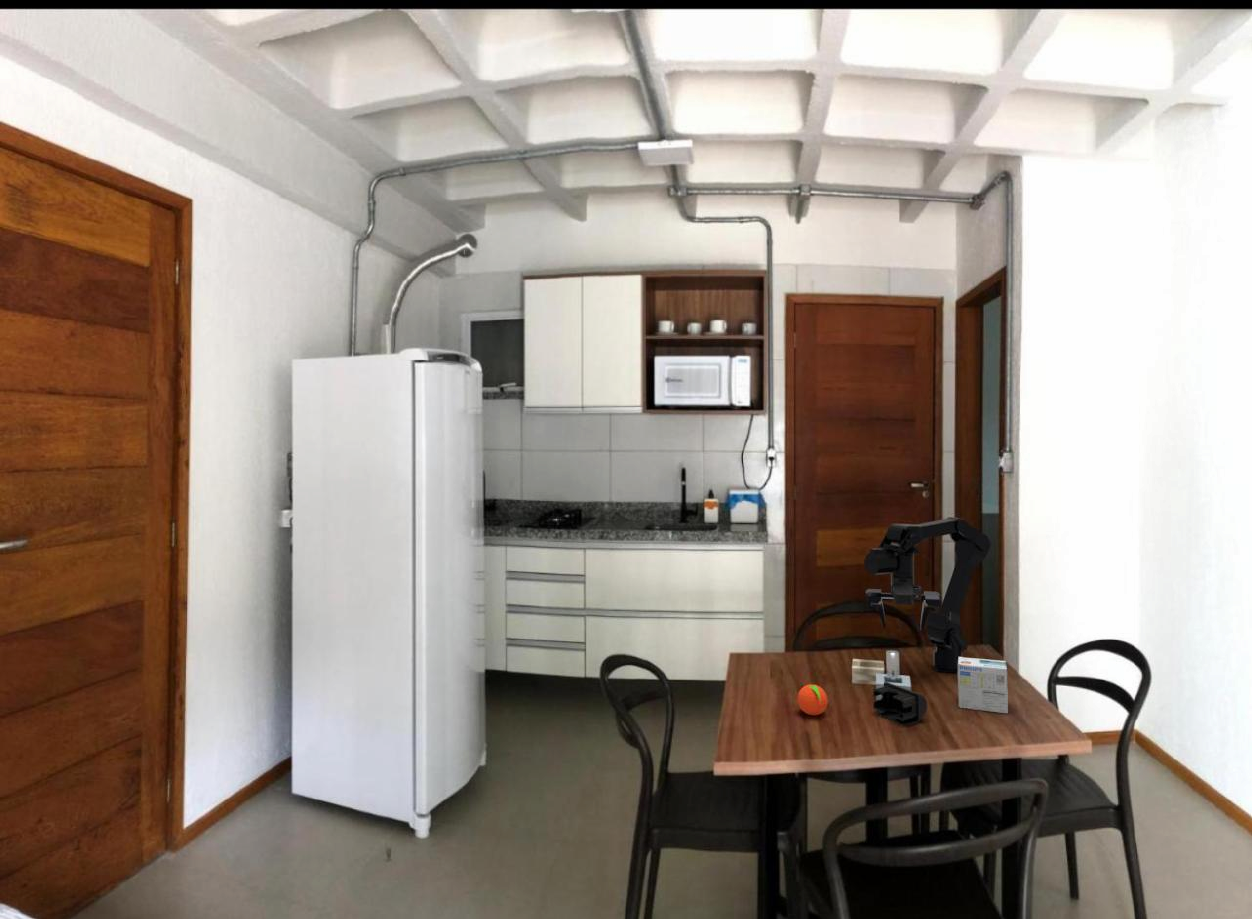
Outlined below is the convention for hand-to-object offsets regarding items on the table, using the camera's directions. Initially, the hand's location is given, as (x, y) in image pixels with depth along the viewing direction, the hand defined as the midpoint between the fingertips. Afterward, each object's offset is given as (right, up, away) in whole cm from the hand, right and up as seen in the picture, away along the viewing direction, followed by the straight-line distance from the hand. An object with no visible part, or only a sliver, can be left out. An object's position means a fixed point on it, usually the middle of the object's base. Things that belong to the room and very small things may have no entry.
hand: (903, 629), depth 194 cm
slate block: (-7, -14, -13) cm, 20 cm away
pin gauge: (-7, -13, -13) cm, 19 cm away
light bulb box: (+11, -14, -21) cm, 27 cm away
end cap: (-11, -14, -26) cm, 32 cm away
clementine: (-30, -15, -24) cm, 41 cm away
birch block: (-9, -13, 0) cm, 16 cm away
